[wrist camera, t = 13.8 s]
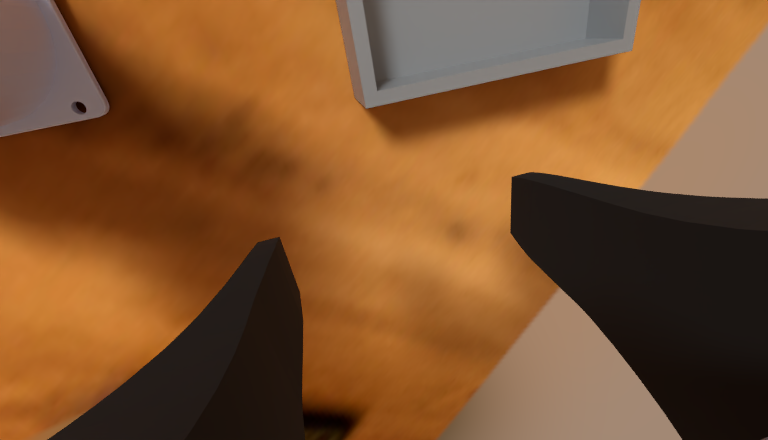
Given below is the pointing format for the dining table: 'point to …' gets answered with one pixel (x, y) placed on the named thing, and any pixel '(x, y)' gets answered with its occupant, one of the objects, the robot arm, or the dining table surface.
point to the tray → (472, 41)
